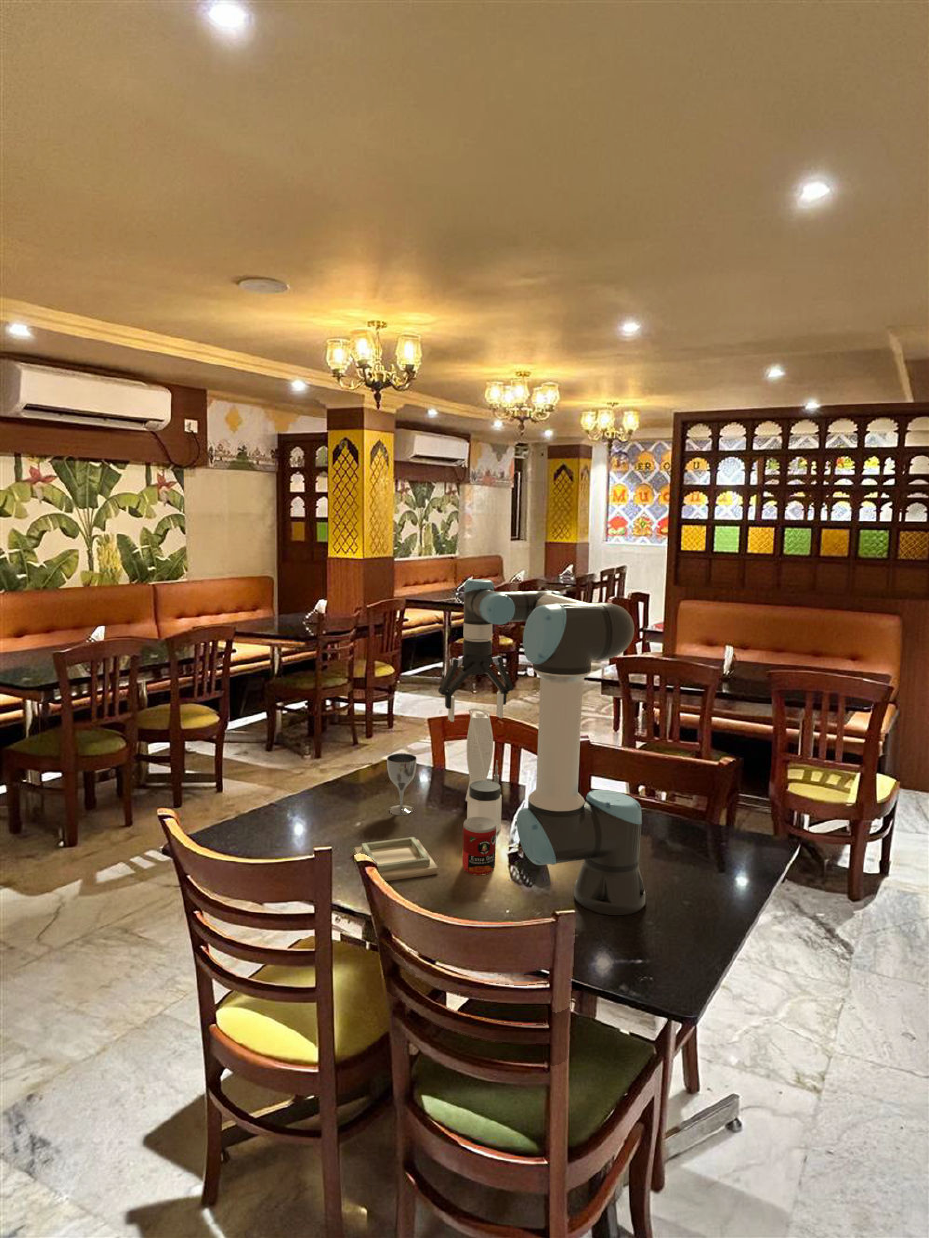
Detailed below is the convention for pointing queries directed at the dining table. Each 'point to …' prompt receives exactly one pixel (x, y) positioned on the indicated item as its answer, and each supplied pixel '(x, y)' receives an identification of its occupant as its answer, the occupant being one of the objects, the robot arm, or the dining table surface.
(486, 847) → the canned food
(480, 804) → the jar
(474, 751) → the white vase
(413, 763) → the wine glass
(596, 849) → the robot arm
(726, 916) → the dining table surface
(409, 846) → the holder
